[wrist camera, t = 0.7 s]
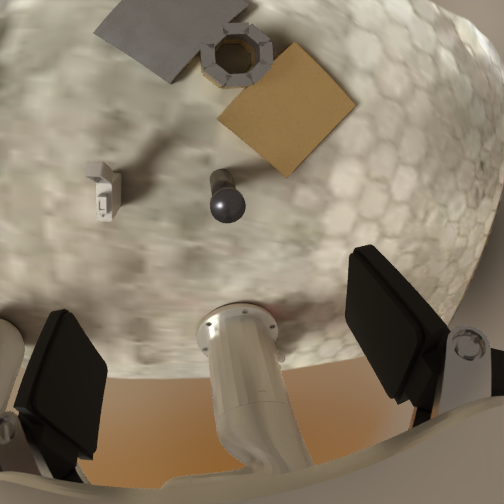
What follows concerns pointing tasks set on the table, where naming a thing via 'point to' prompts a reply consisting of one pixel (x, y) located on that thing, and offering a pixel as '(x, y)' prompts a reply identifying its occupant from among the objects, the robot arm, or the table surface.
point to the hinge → (254, 79)
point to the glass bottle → (9, 360)
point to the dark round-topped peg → (225, 198)
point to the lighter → (105, 189)
